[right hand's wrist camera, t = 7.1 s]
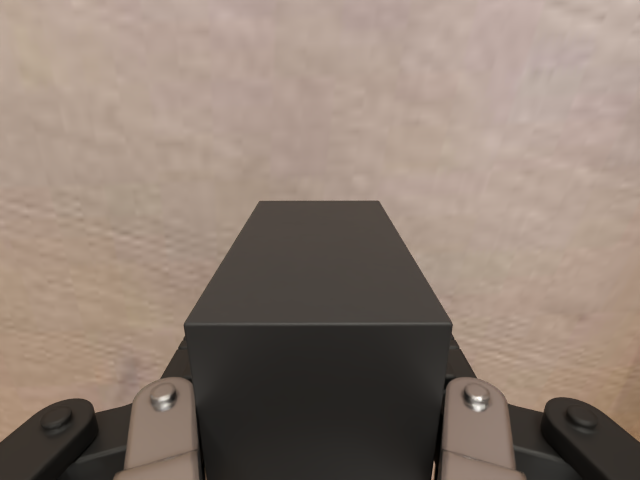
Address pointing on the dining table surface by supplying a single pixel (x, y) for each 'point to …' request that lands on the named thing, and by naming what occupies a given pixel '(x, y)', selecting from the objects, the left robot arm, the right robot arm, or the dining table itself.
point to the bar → (318, 350)
